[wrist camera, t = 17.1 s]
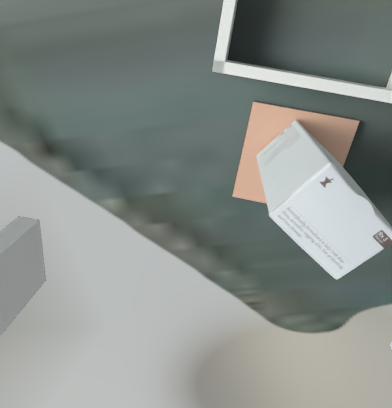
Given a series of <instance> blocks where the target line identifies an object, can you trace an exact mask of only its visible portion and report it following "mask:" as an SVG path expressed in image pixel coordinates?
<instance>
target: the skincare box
mask: <svg viewBox="0 0 392 408" xmlns="http://www.w3.org/2000/svg"><path fill="white" fill-rule="evenodd" d="M256 158H257V162H258V166H259V171H260V175H261V180H262V184H263V188H264V193H265V197H266V201H267V206H268V210H269V216H270V217H271V218H272V219H273V220H274V221H275V222H276V223H277V224H278V225H279V226H280V227H281V228H282V229H283V230H284V231H285V232H286V233H287V234H288V235H289V236H290V237H291V238H292V239H293V240H294V241H295V242H296V243H297V244H298V245H299V246H300V247H301V248H302V249H303V250H305V251H306V252H307V253H308V254H309V255H310V256H311V257H312V258H313V259H314V260H315V261H316V262H317V263H318V264H319V265H320V266H322V267H323V268H324V269H325V270H326V271H327V272H328V273H329V274H330V275H331V276H333V277H334V278H335V279H339V278H341V277H342V276H344V275H345V274H347V273H348V272H350V271H351V270H353V269H354V268H356V267H357V266H359V265H360V264H362V263H363V262H365V261H366V260H368V259H369V258H371V257H372V256H374V255H375V254H377V253H378V252H380V251H381V250H383V249H384V248H385V247H387V246H388V245H390V244H391V243H392V226H391V225H390V224H389V223H388V221H387V220H386V219H385V218H384V216H383V215H382V214H381V213H380V211H379V210H378V209H377V208H376V207H375V205H374V204H373V203H372V202H371V200H370V199H369V198H368V197H367V195H366V194H365V193H364V192H363V190H362V189H361V188H360V187H359V186H358V184H357V183H356V182H355V181H354V180H353V178H352V177H351V176H350V175H349V174H348V172H347V171H346V170H345V169H344V168H343V167H342V165H341V164H340V163H339V162H338V161H337V160H336V159H335V157H334V156H333V155H332V154H331V153H330V152H329V151H328V150H327V149H326V148H325V147H324V146H323V145H322V144H320V143H319V142H318V141H317V140H316V139H315V138H314V137H313V136H312V135H311V134H310V133H309V132H308V131H307V130H305V129H304V127H303V126H302V125H301V124H300V123H299V121H298V120H295V121H293V122H292V123H291V124H290V125H289V126H288V127H287V128H286V129H285V130H283V131H282V132H281V133H280V134H279V135H278V136H277V137H276V138H275V139H273V140H272V141H271V142H270V143H269V144H268V145H267V146H266V147H265V148H264V149H262V150H261V151H260V152H259V153H258V154H257V155H256Z"/></svg>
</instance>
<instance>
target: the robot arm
mask: <svg viewBox="0 0 392 408" xmlns="http://www.w3.org/2000/svg"><path fill="white" fill-rule="evenodd" d="M45 281H46V275H45V266H44V258H43V248H42V239H41V230H40V222H39V220H38V219H32V218H26V217H21V216H19V217H17V218H16V219H15V220H13V221H12V222H11V223H10V224H9V225H7V226H6V227H5V228H3V229H2V230H1V231H0V336H1V335H2V334H3V332H4V331H5V330H6V329H7V327H8V326H9V325H10V324H11V323H12V321H13V320H14V319H15V318H16V316H17V315H18V314H19V313H20V312H21V310H22V309H23V308H24V307H25V306H26V304H27V303H28V302H29V301H30V299H31V298H32V297H33V296H34V295H35V293H36V292H37V291H38V290H39V288H40V287H41V286H42V285H43V284H44V282H45ZM390 346H391V349H392V342H391V344H390Z"/></svg>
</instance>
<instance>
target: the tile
mask: <svg viewBox="0 0 392 408" xmlns="http://www.w3.org/2000/svg"><path fill="white" fill-rule="evenodd" d="M295 120H298V121H299V123H300V124H301V125H302V126H303V127H304V129H305V130H307V131H308V132H309V133H310V134H311V135H312V136H313V137H314V138H315V139H316V140H317V141H318V142H319V143H320V144H322V145H323V146H324V147H325V148H326V149H327V150H328V151H329V152H330V153H331V154H332V155H333V156H334V157H335V159H336V160H337V161H338V162H339V163H340V164H341V165H342V167H343V166H344V163H345V160H346V157H347V155H348V152H349V149H350V146H351V144H352V141H353V138H354V135H355V133H356V130H357V127H358V124H359V122H360V121H359V120H355V119H350V118H344V117H339V116H333V115H328V114H322V113H317V112H311V111H306V110H300V109H294V108H289V107H283V106H278V105H272V104H267V103H261V102H256V101H253V105H252V109H251V114H250V118H249V123H248V128H247V132H246V137H245V141H244V146H243V150H242V155H241V159H240V164H239V168H238V173H237V177H236V182H235V186H234V191H233V196H232V197H237V198H242V199H247V200H252V201H257V202H262V203H267V201H266V197H265V193H264V188H263V184H262V180H261V175H260V171H259V166H258V162H257V158H256V155H257V154H258V153H259V152H260V151H261V150H262V149H264V148H265V147H266V146H267V145H268V144H269V143H270V142H271V141H272V140H273V139H275V138H276V137H277V136H278V135H279V134H280V133H281V132H282V131H283V130H285V129H286V128H287V127H288V126H289V125H290V124H291V123H292V122H293V121H295Z"/></svg>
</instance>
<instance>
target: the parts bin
mask: <svg viewBox="0 0 392 408" xmlns="http://www.w3.org/2000/svg"><path fill="white" fill-rule="evenodd" d="M237 2H238V0H224V2H223V8H222V14H221V21H220V27H219V33H218V39H217V45H216V51H215V57H214V63H213V69H212V71H213V72H219V73H224V74H230V75H236V76H241V77H247V78H253V79H258V80H264V81H269V82H275V83H281V84H286V85H292V86H298V87H303V88H309V89H315V90H320V91H326V92H331V93H337V94H343V95H348V96H354V97H360V98H365V99H371V100H376V101H382V102H388V103H392V73H391V75H390V78H389V81H388V83H387V86H386V88H385V87H379V86H373V85H367V84H362V83H356V82H350V81H345V80H339V79H333V78H328V77H322V76H316V75H310V74H305V73H299V72H293V71H288V70H282V69H276V68H271V67H265V66H259V65H253V64H248V63H242V62H236V61H231V60H227V58H228V52H229V47H230V41H231V36H232V30H233V25H234V19H235V13H236V8H237Z"/></svg>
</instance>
